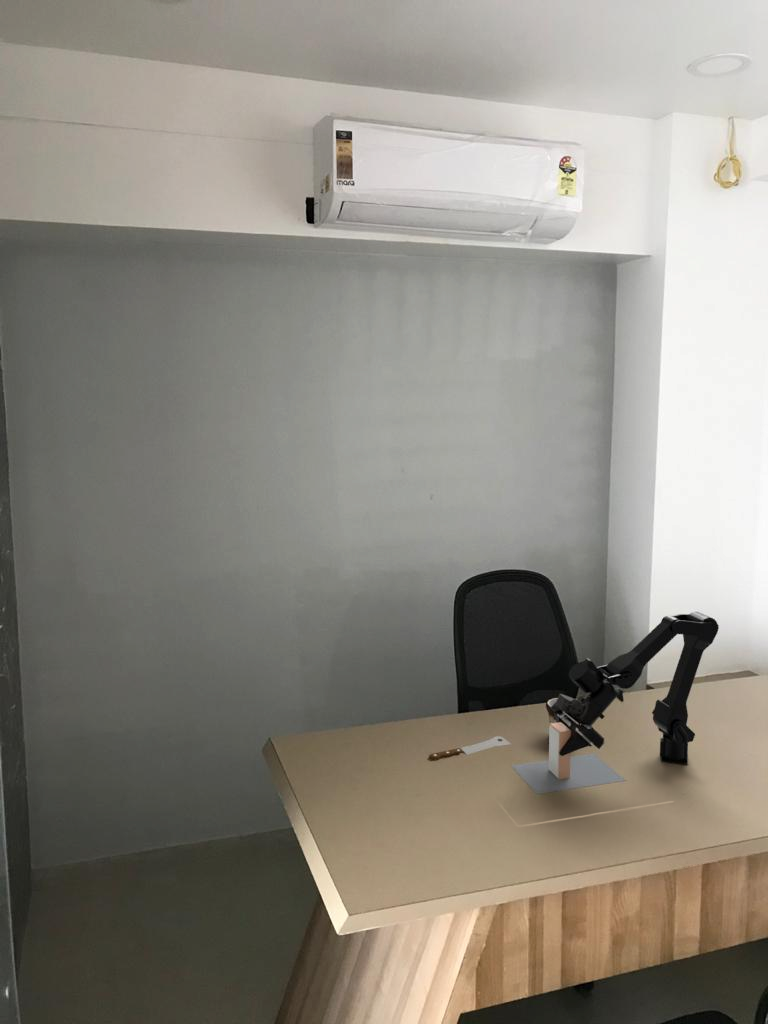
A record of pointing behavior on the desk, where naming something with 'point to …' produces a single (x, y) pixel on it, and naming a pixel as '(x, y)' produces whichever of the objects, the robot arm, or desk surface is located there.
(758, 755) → the desk surface
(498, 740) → the kitchen cleaver
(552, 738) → the tall peach block
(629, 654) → the robot arm
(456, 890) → the desk surface
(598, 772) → the felt mat
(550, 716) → the coffee mug
